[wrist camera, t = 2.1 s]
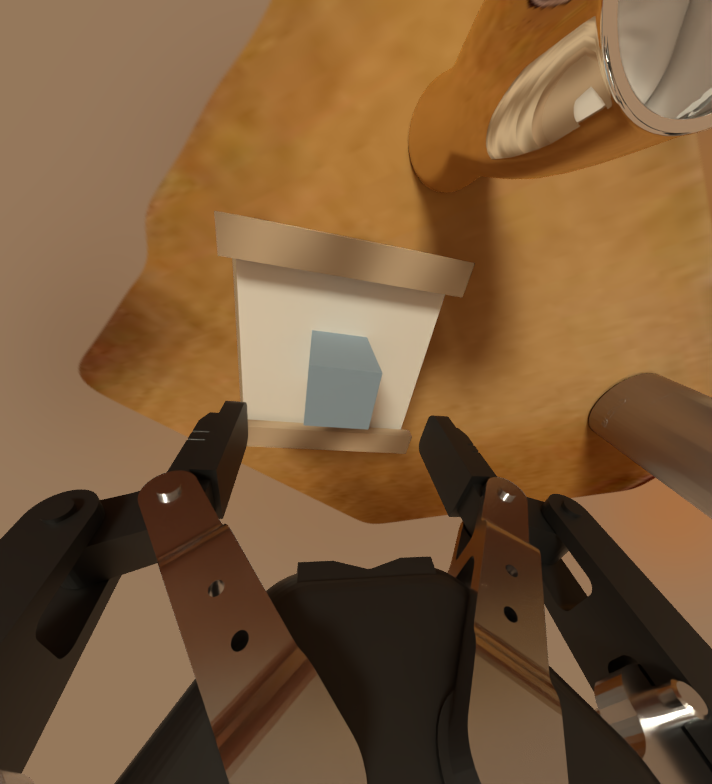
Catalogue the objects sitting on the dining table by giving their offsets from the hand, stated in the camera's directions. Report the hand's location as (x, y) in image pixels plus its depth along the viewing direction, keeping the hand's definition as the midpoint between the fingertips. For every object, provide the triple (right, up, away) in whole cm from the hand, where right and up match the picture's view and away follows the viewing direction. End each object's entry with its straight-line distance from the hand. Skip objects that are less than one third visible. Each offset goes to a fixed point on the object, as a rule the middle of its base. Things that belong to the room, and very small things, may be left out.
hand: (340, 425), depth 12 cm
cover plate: (-1, +4, +7) cm, 8 cm away
